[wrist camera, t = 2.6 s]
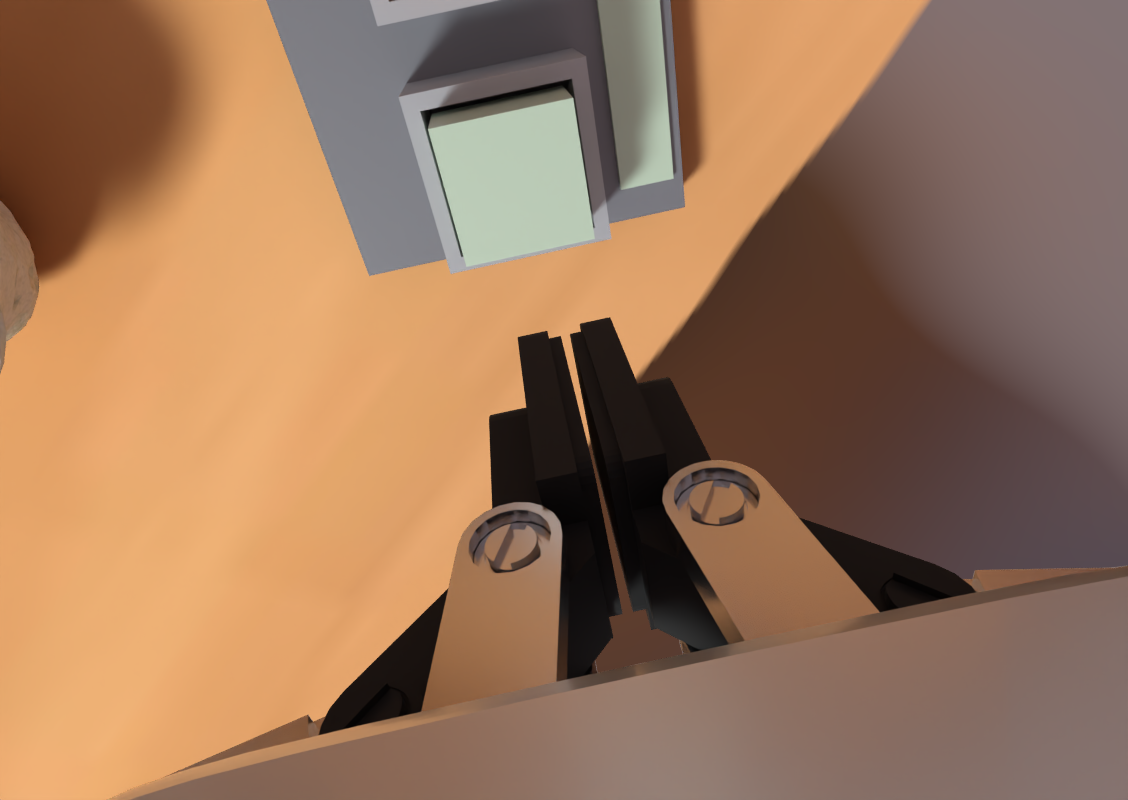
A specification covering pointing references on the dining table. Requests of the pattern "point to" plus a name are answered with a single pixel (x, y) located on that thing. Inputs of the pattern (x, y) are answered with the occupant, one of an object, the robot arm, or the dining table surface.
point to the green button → (513, 174)
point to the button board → (475, 75)
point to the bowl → (15, 279)
